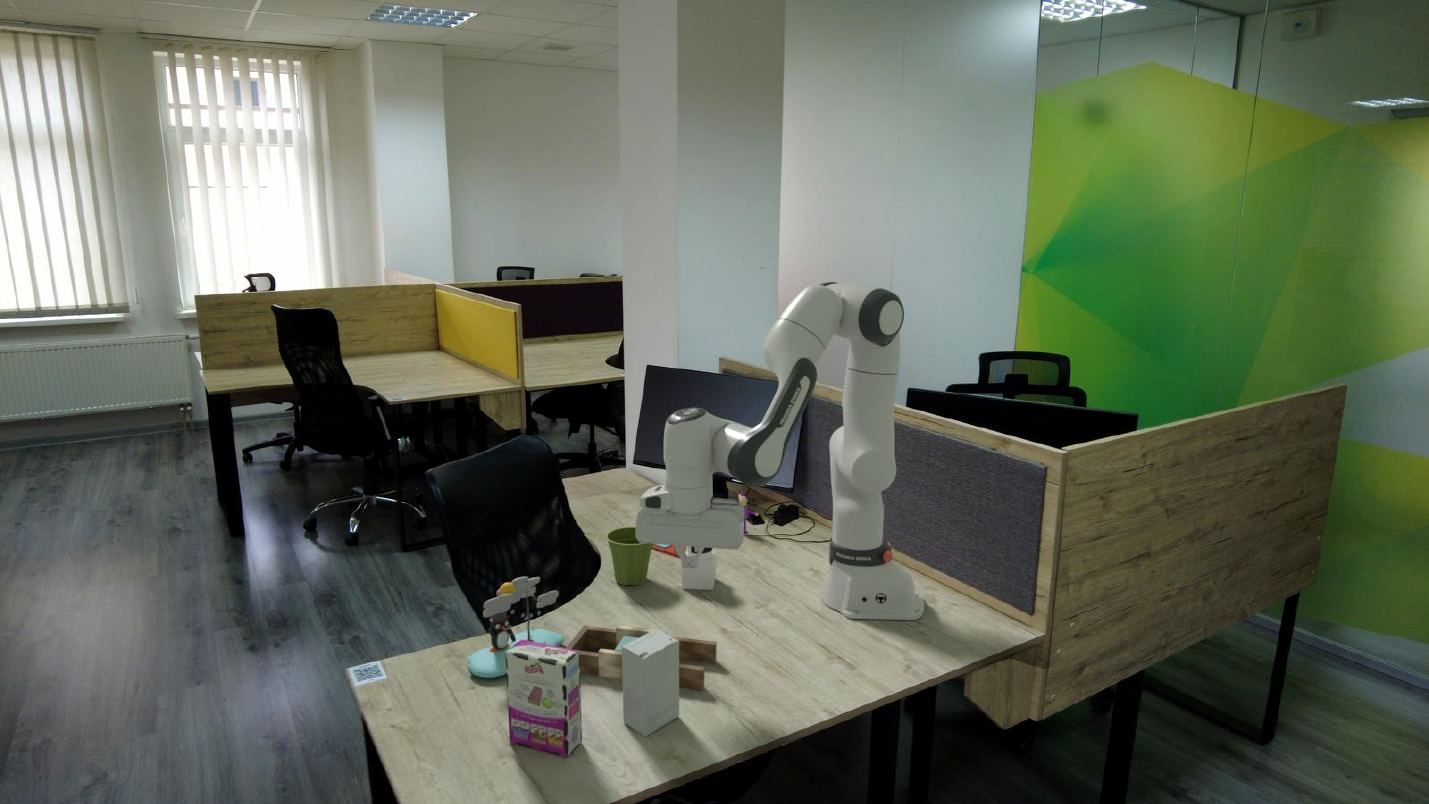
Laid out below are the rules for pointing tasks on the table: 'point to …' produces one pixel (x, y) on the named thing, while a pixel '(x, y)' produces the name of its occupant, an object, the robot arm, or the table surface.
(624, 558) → the plant pot
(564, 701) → the candy bar box
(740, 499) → the wizard figurine
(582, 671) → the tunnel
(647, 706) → the skincare box
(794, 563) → the table surface
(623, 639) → the teal block
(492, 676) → the penguin figurine
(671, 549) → the handheld gaming console
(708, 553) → the medicine bottle
